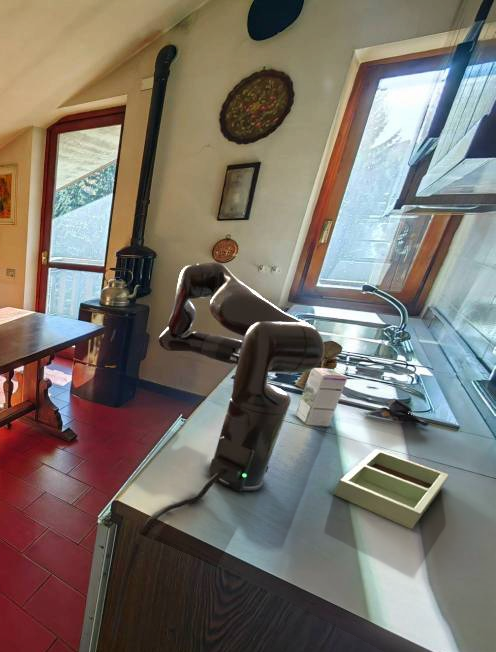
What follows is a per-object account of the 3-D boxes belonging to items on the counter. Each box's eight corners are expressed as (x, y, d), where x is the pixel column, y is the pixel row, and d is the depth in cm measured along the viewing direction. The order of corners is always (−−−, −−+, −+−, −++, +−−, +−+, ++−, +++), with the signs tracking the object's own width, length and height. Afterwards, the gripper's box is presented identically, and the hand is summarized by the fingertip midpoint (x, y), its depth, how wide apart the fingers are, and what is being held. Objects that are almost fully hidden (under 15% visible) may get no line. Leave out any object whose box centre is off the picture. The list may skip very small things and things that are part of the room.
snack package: (366, 406, 115) (360, 417, 108) (380, 388, 112) (375, 398, 105) (419, 427, 108) (418, 440, 101) (436, 408, 105) (435, 420, 98)
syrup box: (329, 427, 103) (350, 376, 97) (304, 424, 104) (323, 374, 99) (317, 417, 108) (336, 368, 103) (293, 415, 109) (311, 367, 104)
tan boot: (293, 391, 125) (313, 337, 118) (297, 380, 134) (315, 329, 127) (329, 399, 119) (351, 343, 112) (330, 387, 129) (351, 334, 122)
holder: (411, 529, 69) (420, 513, 67) (333, 494, 77) (339, 479, 76) (441, 488, 79) (449, 474, 78) (369, 462, 88) (375, 448, 87)
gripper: (212, 340, 117) (272, 355, 105) (236, 334, 124) (295, 347, 112) (206, 363, 120) (263, 381, 108) (230, 356, 127) (286, 371, 115)
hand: (279, 364), depth 110 cm, fingers open, 8 cm apart
